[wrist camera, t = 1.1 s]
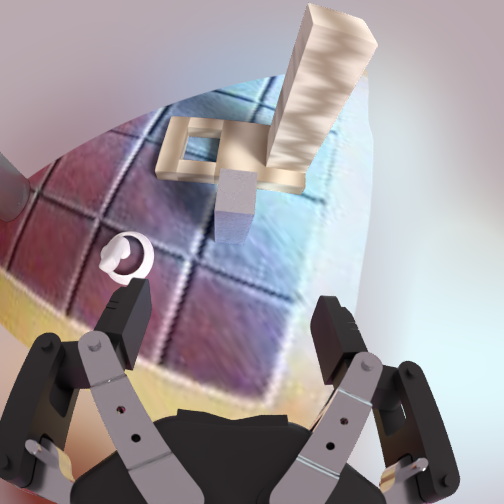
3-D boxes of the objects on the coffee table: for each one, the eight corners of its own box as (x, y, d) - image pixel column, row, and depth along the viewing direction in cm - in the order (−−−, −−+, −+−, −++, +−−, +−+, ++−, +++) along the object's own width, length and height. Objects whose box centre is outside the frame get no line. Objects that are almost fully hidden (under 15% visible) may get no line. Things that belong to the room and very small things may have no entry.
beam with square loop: (157, 179, 39) (112, 27, 13) (173, 125, 42) (156, -13, 16) (300, 195, 41) (385, 59, 16) (299, 140, 44) (358, 11, 18)
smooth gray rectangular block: (214, 242, 37) (214, 210, 27) (219, 209, 39) (220, 168, 28) (243, 245, 38) (254, 214, 27) (246, 212, 39) (257, 172, 29)
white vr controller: (120, 326, 28) (76, 286, 25) (127, 281, 39) (95, 249, 35) (164, 287, 28) (120, 242, 25) (161, 250, 39) (130, 216, 36)
